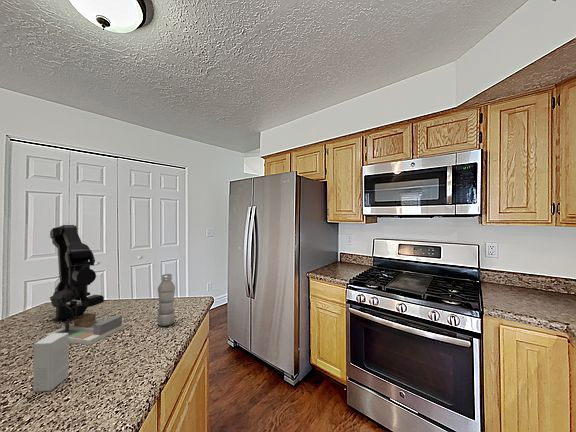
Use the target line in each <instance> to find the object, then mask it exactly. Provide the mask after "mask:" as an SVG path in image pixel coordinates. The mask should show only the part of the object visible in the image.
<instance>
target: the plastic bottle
mask: <svg viewBox="0 0 576 432" xmlns="http://www.w3.org/2000/svg"><path fill="white" fill-rule="evenodd" d="M172 280H173V274H169V273H168V274H167V273H166V274H165V273H164V274H162V275H161V282H160V283H159V285H158V287H157V297H158V312H157V317H156V319H157V324H158V325H159V327H167V326H170V325H173V324H174V322H175V321H176V320H175V319H176V313H175V306H174V301H175V293H176V285H175V283H174V282H173V281H172Z"/></svg>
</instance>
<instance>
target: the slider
mask: <svg viewBox="0 0 576 432" xmlns="http://www.w3.org/2000/svg"><path fill="white" fill-rule="evenodd" d="M96 316H97V315H96V313H89V312H87V313H84V314H83V315H81V316H78V317H75V318H72V319H69V320H67V321H64V322H63V325H65V333H67V332H69V325H70V322H73V321H74V323H73V324H74V326H78V327H86V328H88V327H90V326H93V325H94V324H95V322H96V320H97V319H96V318H97V317H96Z"/></svg>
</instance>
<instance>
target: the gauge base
mask: <svg viewBox="0 0 576 432" xmlns="http://www.w3.org/2000/svg"><path fill="white" fill-rule="evenodd" d="M122 322H123V316H122V315H113V316H110V317H108V318H106V319H103V320H97V319H96V322H95V324H94V325H93V326H90V327H88V328H86V327H78V326H74V323H71V324H69V332H67V333H69V343H73V344H74V343H75V344H81V345H87V346H90V345H92V344H95V343H96V342H98V341H101V340H102V339H104V338H107V337H109V336H110V335H113V334H114V333H115V334H116V333H117V332H119V331H121V330H123V329H124V328H125V324H123V323H122ZM52 333H65V324H62V325H61V328H59V329H56V330H54V331H51V332H48V333H46V334H45V337H47V336H49V335H50V334H52Z"/></svg>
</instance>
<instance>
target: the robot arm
mask: <svg viewBox="0 0 576 432" xmlns="http://www.w3.org/2000/svg"><path fill="white" fill-rule="evenodd" d="M49 238H50V239H51V242H52V243H51V244H52V245H54V247H56V248H57V262H58V275H59V276H58V279H59V282H58V283H57V285H56V286H55V288H54V292H53V293H52V296H50V297H49V300H50V302H51V303H50V304H51V306H52V307H53V308H55V317H54V318H52V319H51V321H54V322H63V323H64V322H65V321H68V320H71V319H74V318H75V317H78V316H81V315H83V314H85V312H86V310H87V309H88V308H90V307H94V306H96V305H97V306H98V305H100V304H102V303H104V302H105V296H103V295H101V294H93V295H91V292H90V291H88V286H89V285H91V284H92V283H93V282H95V280H96V277H97V273H96V272H95V270H94V269H91V266H95V262H96V259H95V256H94V253H93V251H92V249H90V247H89V246H88V245H87V244H85V243H83V242H82V240H81V238H80V235H79V233H78V227H77V225H74V224H63V225H60V226H57V227H53V228H51V230H50V233H49Z"/></svg>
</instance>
